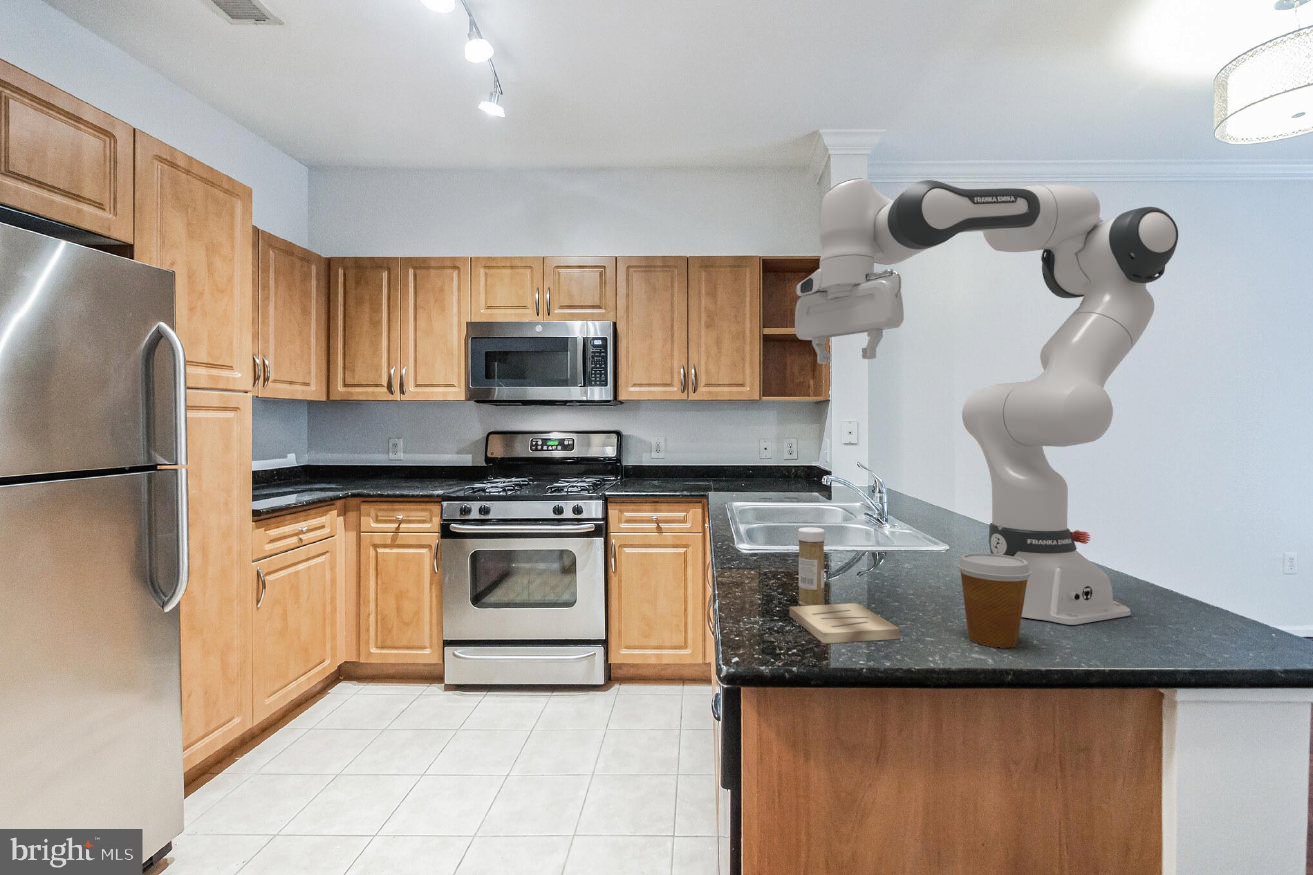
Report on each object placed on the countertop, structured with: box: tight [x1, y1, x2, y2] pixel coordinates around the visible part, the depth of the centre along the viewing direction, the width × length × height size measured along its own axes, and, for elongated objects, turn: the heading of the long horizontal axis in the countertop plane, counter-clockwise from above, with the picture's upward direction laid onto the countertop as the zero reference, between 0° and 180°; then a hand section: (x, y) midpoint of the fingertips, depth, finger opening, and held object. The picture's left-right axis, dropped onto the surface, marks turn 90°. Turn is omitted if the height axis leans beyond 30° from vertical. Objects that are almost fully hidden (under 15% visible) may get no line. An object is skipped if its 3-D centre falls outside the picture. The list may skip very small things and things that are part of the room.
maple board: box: [788, 602, 901, 644], centre depth 96 cm, size 12×13×2 cm
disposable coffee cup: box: [956, 552, 1032, 649], centre depth 90 cm, size 10×10×12 cm
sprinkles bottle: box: [797, 526, 826, 606], centre depth 107 cm, size 5×5×13 cm
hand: (845, 361), depth 104 cm, fingers open, 8 cm apart
